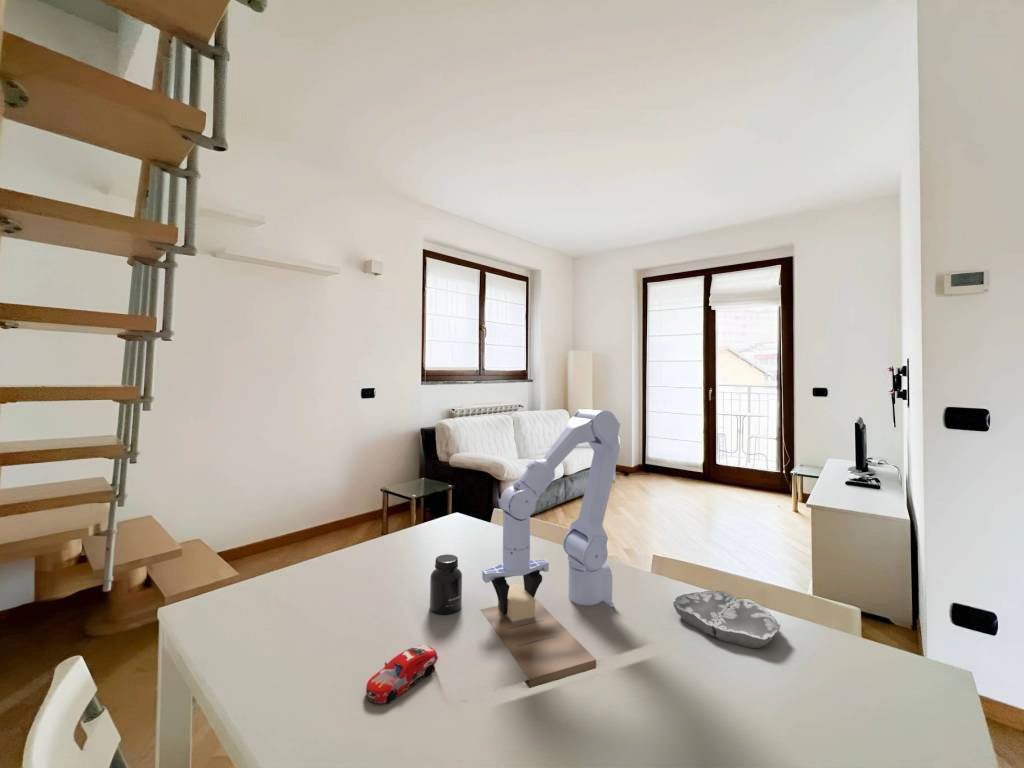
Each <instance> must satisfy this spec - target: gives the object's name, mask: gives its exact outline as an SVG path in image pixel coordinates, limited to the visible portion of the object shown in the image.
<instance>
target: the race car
mask: <svg viewBox="0 0 1024 768" xmlns="http://www.w3.org/2000/svg"><path fill="white" fill-rule="evenodd" d="M438 660H439V656H438V653H437V651H436V649H434V648H432V647H431V646H429V645H427V644H422V645H421V644H420V645H417V646H414V647H413V646H412V647H410V648H408V649H405V650H403V651H402V652H401V653H399V654H396V656H395V657H393V658H391V660H389V662H384V667H383V668H381V670H379V671H378V672H377V673H375V674H374V675H373V676H372V677H370V678H369V680H368V681H367V683H366V687H365V689H366V690H365V692H366V693H365V694H366V695H365V696H366V699H368V700H369V701H370V702H371V703H376V704H386V703H387V704H390V703H391V702H393V701H396V700H395V699H396V698H397V697H399V696H400V695H402V694H403V693H405V692H406V691H408V690H409V689H410V688H412V687H413V686H415V685H416V684H417V683H419V682H421V681H422V680H424V679H425V678H427V677H429V676H430V675H432V673H433V671H435V670H436V667H435V663H436V662H437V661H438Z"/></svg>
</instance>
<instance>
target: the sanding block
mask: <svg viewBox="0 0 1024 768" xmlns="http://www.w3.org/2000/svg"><path fill="white" fill-rule="evenodd" d="M508 585H509V586H510V587H509V591H508V599H507V605H508V610H507V614H506V617H507V618H508V619H509V620H510V622H511V623H512V624H517V623H521V622H526V621H530V620H534V619H535V599H534V598H535V597H534V598H533V597H532V596H531V595H530V594H529V593H528V592H527V591H526V590H525V589H524V586H522V585H521V583H515V584H508ZM497 606H498V607H499V608H500V604H499V600H498V599H497Z"/></svg>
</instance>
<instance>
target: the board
mask: <svg viewBox="0 0 1024 768" xmlns="http://www.w3.org/2000/svg"><path fill="white" fill-rule="evenodd" d="M534 599H535V619H534V620H530V621H526V622H521V623H517V624H512V623H511V622H510V620H509V619H508V618H507V617H506V615H504V614H503V613H502V612H501V611H500V608H499V607H498V605H495V606H492V607H491V606H490V607H486V608H483V609H482V608H481V609H480V612H482V614H483V616H484V617H485V618H486V620H487V621H488V622H489V624H490V625H491V627H492V628H493V630H494V631H495V632H496V634H497V635H498V637H499V638H500V640H501V641H502V643H503V644H504V645H505V647H506V648H507V650H508V651H509V653H510V654H511V655H512V657H513V658H514V660H515V662H517V664H518V665H519V667H520V669H522V671H523V673H524V674H525V675H526V676H527V678H528V679H526V680H524V683H525V684H526V685H527V687H528V688H529V689H531V688H535V687H537V686H541V685H545V684H548V683H552V682H555V681H558V680H562V679H566V678H569V677H571V676H574V675H577V674H578V675H579V674H581V673H585V672H587V671H591V670H594V669H597V659H596V657H595V656H593V655H592V653H591V652H589V651H588V650H587V649H586V648H585V647H584V646H583V645H582V644H581V642H579V641H578V640H577V638H576V637H574V636H573V634H572V633H570V631H568V630H567V628H565V626H564V625H562V624H561V623H560V622H559V620H557V619H556V617H554V615H553V614H552V613H550V612H549V611H548V609H547V608H546V607H545V606H544V605H542V603H540V601H538V599H537V598H536V597H534Z"/></svg>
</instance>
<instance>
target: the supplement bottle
mask: <svg viewBox="0 0 1024 768" xmlns="http://www.w3.org/2000/svg"><path fill="white" fill-rule="evenodd" d="M458 558H459V557H457V555H454V554H442V555H439V556H436V558H435V562H434V563H435V564H434V568H435V569H434V570H433V571H432V572H431V574H430V579H429V580H430V582H429V583H430V585H429V588H430V589H429V611H430V612H431V613H432V614H435V615H437V616H450V615H453V614H454V615H455V614H456V613H458V612H459V611H461V609H462V608H463V607H462V606H463V605H462V603H463V601H462V600H463V599H462V598H463V596H462V595H463V574H462V571H461V569H459V568H458V567H459V560H458Z"/></svg>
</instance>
